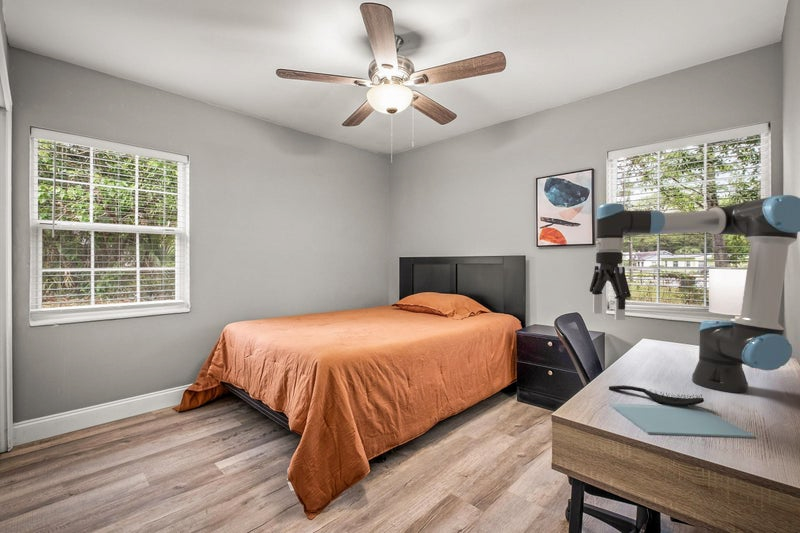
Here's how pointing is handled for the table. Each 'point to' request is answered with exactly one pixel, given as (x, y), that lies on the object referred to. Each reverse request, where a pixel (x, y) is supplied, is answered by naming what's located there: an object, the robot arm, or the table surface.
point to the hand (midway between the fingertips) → (607, 316)
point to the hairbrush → (662, 398)
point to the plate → (678, 420)
